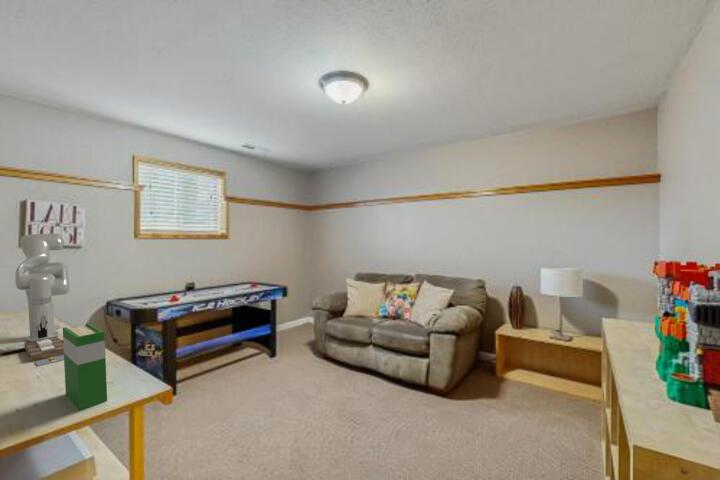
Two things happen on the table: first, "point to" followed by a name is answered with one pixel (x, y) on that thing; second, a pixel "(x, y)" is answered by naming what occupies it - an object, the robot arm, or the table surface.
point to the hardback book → (85, 365)
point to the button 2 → (47, 348)
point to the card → (49, 360)
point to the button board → (37, 354)
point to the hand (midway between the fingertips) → (42, 337)
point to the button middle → (44, 343)
